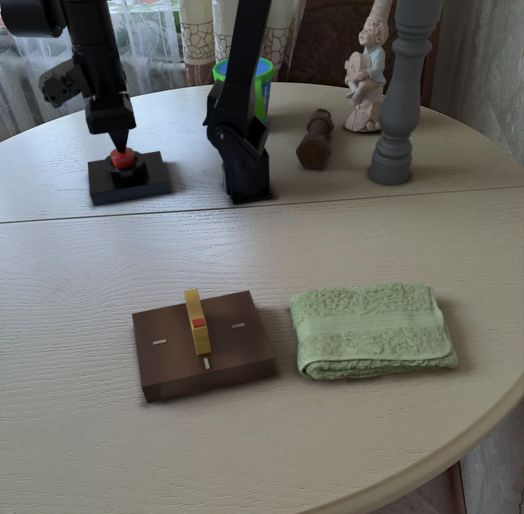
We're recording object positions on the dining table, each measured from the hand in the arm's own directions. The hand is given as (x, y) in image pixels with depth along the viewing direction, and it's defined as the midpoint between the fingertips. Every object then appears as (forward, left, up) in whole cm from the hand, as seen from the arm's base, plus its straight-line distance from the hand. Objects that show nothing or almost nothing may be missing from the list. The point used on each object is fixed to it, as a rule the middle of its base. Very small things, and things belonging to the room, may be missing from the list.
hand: (121, 151), depth 77 cm
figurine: (-44, -7, -6) cm, 45 cm away
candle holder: (-41, +10, -6) cm, 43 cm away
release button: (0, 0, -2) cm, 2 cm away
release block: (0, 0, -6) cm, 6 cm away
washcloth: (-24, +42, -6) cm, 49 cm away
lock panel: (-5, +39, -6) cm, 40 cm away
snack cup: (-23, -14, -6) cm, 27 cm away
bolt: (-33, -2, -6) cm, 34 cm away
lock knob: (-5, +39, -2) cm, 39 cm away
